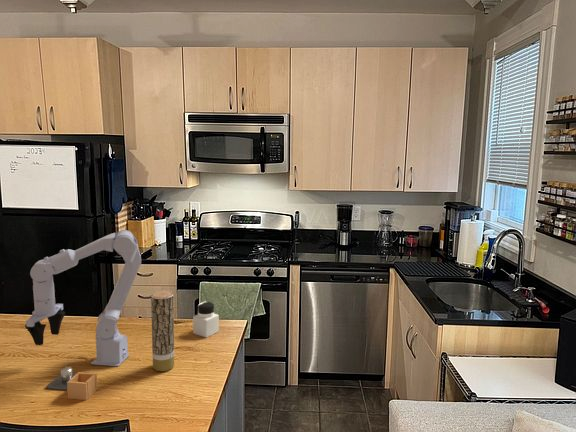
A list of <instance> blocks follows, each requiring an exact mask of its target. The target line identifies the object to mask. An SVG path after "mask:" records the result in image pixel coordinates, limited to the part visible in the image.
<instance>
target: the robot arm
mask: <svg viewBox="0 0 576 432" xmlns="http://www.w3.org/2000/svg"><path fill="white" fill-rule="evenodd" d="M114 250H115V252H116V253H118V255H120V256H121V257H122V258H123V261H124V265H123V268H122V270H121V273H120V275H119V277H118V279H117V282H116V285H115V286H114V289H113V291H112V294H111V296H110V298H109V301H108V303H107V304H106V306H105V308H104V310H103V311H102V312H101V313H100V314H99V315H98V317H97V325H96V327H95V348H96V349H95V350H96V357H95V359H94V360H93V361H91V362H90V364H91V365H95V366H96V365H97V366H110V367H119V366H120V365H121V364H122V363H124V361H125V360H126V359H127V358H128V357H129V356H130V354H129V344H128V343H129V342H128V340H129V339H128V337H127V335H124V334H122V333H120V331H119V329H118V326H117V325H118V322H119V318H120V315H121V311H122V309H123V306H124V304H125V302H126V300H127V297H128V295H129V292H130V290H131V288H132V286H133V284H134V281H135V278H136V276H137V274H138V271H139V269H140V267H141V266H142V265H141V264H142V256H141V252H140V249H139V244H138V239H136V237H135V235H134V234H133V232H131V231H130V230H128V229H121V230H118V231H117V232H113V233H110V234H107V235H105V236H103V237H101V238H99V239H96V240H94V241H92V242H89V243H87V244H86V245H84V246H82V247H80V248H77V249H75V250H73V249H69V248H68V249H64V248H63V249H60V250H59V252H58V253H57V254H54V255H52V256H45V257H43V259H40V260H38V261H37V262H35V263H34V265H33V266H32V267H31V269H30V272H29V275H30V277H31V279H32V284H33V285H32V291H33V303H34V310H33V311H32V312H31V313H32V315H31V316H30V317H29V318H28V319H27V320H26V321H25V324H24V327H25V329H26V330H27V331H28V332H29V333H30V336H31V337H32V339H33V343H34V345H35V346H42V345H44V335H45V328H46V327H47V324H44V323H41V321H43V320H45V319H47V321H48V323H49V328H50V329H49V330H50V333H51V335H54V336H58V335H59V333H60V330H61V325H62V322H63V319H64V317H65V315H66V311H64V303H56V297H55V296H56V295H55V293H56V292H55V283H54V275H58V274H60V273H63V272H64V271H67V270H69V269H72V268H74V267H75V266H77V265H78V264H79V260H82V259H84V258H87V257H89V256H92V255H94V254H97V253H100V252H102V251H106V252H111V253H113V252H114Z"/></svg>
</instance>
